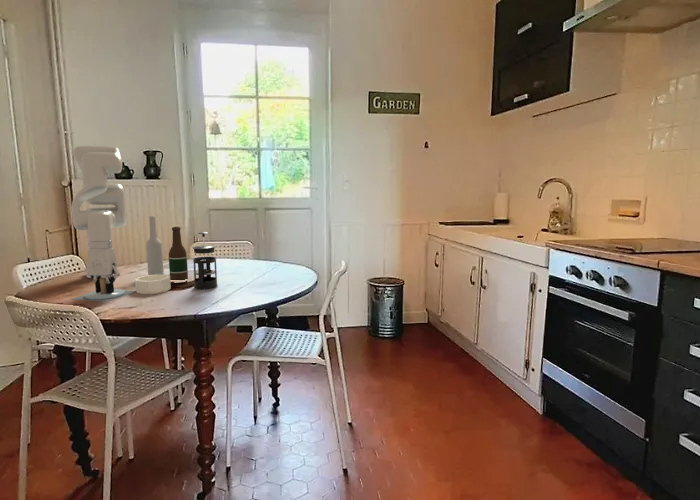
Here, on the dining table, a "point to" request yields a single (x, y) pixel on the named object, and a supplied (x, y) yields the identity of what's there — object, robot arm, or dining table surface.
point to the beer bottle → (177, 257)
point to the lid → (104, 292)
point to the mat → (104, 299)
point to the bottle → (154, 251)
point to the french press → (205, 281)
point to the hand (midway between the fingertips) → (105, 292)
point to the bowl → (152, 284)
